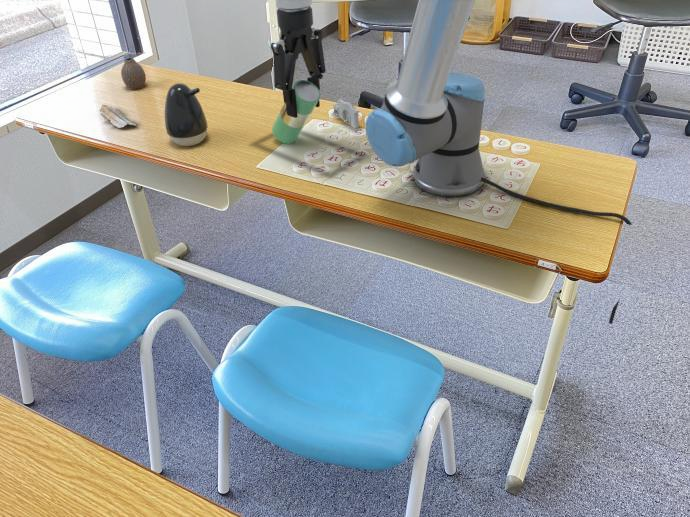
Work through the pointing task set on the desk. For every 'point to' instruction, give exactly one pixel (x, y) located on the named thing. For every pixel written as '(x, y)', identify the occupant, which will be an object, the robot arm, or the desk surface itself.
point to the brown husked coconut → (133, 74)
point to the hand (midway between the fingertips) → (303, 110)
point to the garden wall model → (347, 112)
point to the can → (306, 101)
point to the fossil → (115, 116)
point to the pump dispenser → (184, 116)
